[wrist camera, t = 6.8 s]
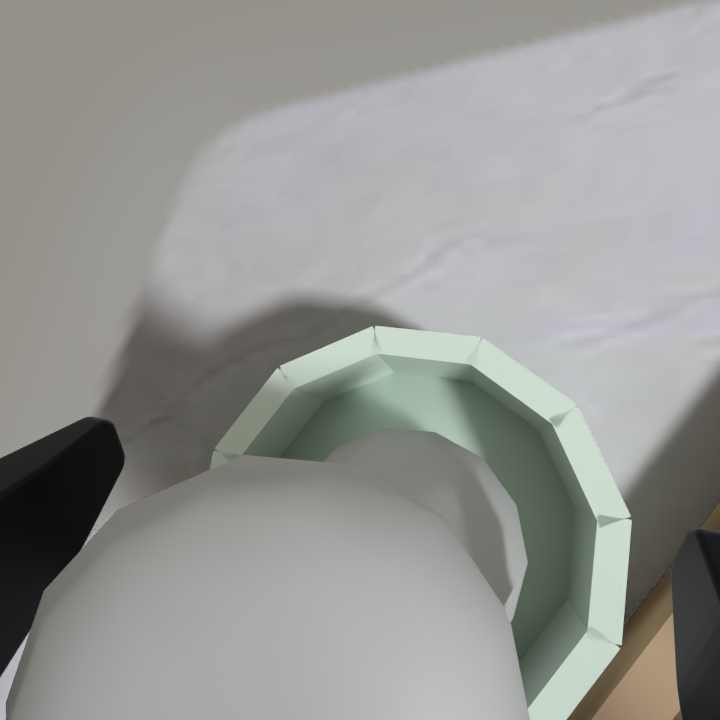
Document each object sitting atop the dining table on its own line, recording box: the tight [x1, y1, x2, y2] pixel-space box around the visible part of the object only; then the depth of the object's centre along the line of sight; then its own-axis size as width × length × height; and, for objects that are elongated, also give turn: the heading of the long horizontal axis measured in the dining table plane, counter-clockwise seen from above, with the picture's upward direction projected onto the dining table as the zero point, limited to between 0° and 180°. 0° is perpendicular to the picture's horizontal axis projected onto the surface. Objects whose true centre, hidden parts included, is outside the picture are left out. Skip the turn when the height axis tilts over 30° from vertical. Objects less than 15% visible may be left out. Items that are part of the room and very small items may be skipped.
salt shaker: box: [6, 428, 530, 720], centre depth 10 cm, size 6×6×13 cm
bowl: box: [210, 326, 632, 720], centre depth 15 cm, size 10×10×4 cm
